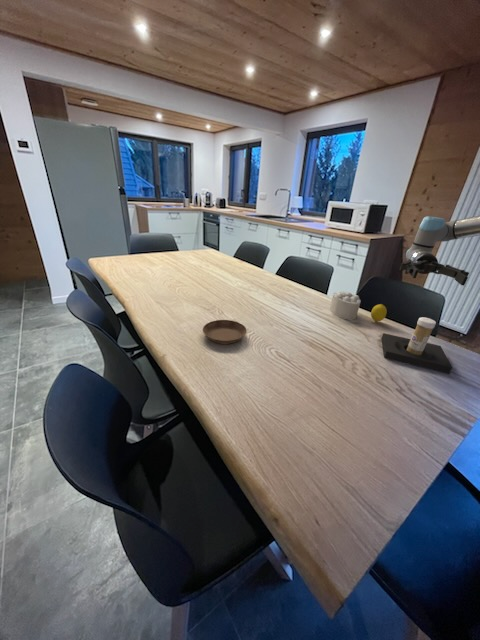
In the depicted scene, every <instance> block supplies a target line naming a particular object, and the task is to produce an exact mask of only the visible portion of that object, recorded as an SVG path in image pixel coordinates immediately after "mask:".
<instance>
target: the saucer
mask: <svg viewBox="0 0 480 640" xmlns="http://www.w3.org/2000/svg"><path fill="white" fill-rule="evenodd" d="M202 333H203V334H204V335H205V337H206V338H207V339H208V340H210V341H212V342H214V343H216V344H223V345H227V344H228V345H229V344H233V343H237V342H238V341H240V340H241V339H243V338H244V337H245V335H247V328H246V326H245V325H244V324H243V323H240V322H238V321H235V320H229V319H217V320H211V321H209V322H207V323H206V324H204V326H203V327H202Z"/></svg>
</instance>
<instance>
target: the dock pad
mask: <svg viewBox="0 0 480 640" xmlns="http://www.w3.org/2000/svg"><path fill="white" fill-rule="evenodd" d="M380 340H381V347H382V352H383V353H382V354H383V358H384V359H387V360H390V361H391V360H392V361H395V362H399V363H404V364H407V365H411V366H415V367H418V368H423V369H428V370H431V371H436V372H439V373H444V374H446V375H447V374H448V375H450V374H451V372H452V370H453V365H452V364H451V361H450V359H449V358H448V357H447V354H446V353H445V351H444V350H443V347H442V346H441V345H438V344H434V343H430V342H427V344H426V346H425V348H424V350H423V352H422V354H421V355H416V354H413V353H410V352H409V351H407V348H408V345H409V342H410V340H411V338H407V337H403V336H398V335H393V334H389V333H385V332H382V335H381V339H380Z"/></svg>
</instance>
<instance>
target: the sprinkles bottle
mask: <svg viewBox="0 0 480 640" xmlns="http://www.w3.org/2000/svg"><path fill="white" fill-rule="evenodd" d="M436 324H437V322H436V320H434V319H432V318H429V317H425V316H424V317H423V316H421V317H419V318H418V320H417V323H416V327H415V329H414V331H413V333H412V336H411V338H410V339H411V340H410V342H409V345H408V348H407V351H409V352H410V353H413V354H416V355H421V354H422V352H423V350H424V348H425V346H426V344H427V343H428V342H429V339H430V336H431V334H432V332H433V330H434V329H435V327H436Z"/></svg>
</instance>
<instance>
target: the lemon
mask: <svg viewBox="0 0 480 640" xmlns="http://www.w3.org/2000/svg"><path fill="white" fill-rule="evenodd" d="M387 312H388V311H387V307H386V306H385V305H384V304H382V303H380V304H376V305H374V306H373V307H372V309H371V312H370V317H371V319H372V320H373V321H374V322H375V323H377V322H382V321H383V320H384V319H385V318H386V316H387Z"/></svg>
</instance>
